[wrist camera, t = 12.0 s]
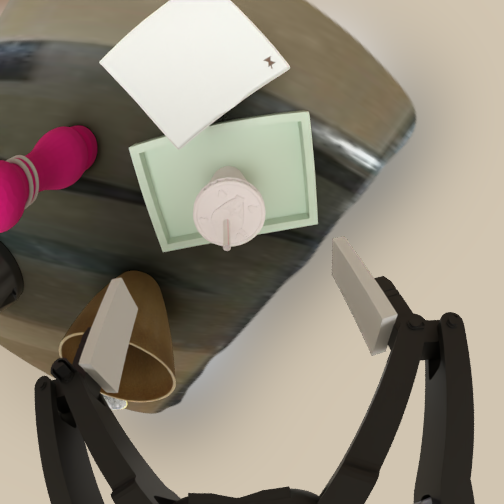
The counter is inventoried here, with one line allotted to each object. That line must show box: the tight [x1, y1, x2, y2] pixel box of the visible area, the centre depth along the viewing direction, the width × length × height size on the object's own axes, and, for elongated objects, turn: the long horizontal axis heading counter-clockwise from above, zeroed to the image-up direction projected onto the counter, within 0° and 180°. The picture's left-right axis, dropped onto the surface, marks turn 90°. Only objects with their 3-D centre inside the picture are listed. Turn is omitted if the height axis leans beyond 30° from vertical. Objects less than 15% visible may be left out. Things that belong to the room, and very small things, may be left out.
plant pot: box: [59, 271, 176, 402], centre depth 33 cm, size 15×15×16 cm
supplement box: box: [99, 0, 290, 150], centre depth 19 cm, size 9×9×15 cm
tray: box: [129, 110, 318, 252], centre depth 31 cm, size 20×14×2 cm
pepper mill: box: [0, 125, 97, 233], centre depth 19 cm, size 7×7×20 cm
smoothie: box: [193, 166, 266, 251], centre depth 26 cm, size 6×6×14 cm
